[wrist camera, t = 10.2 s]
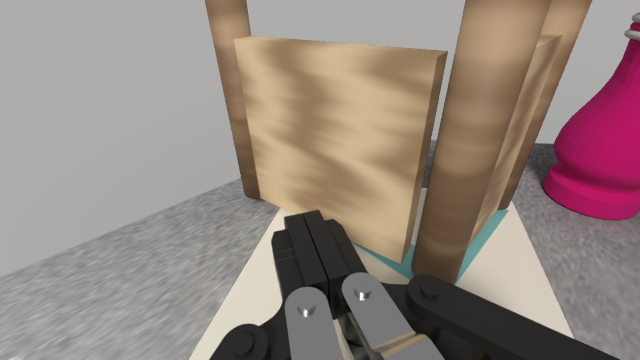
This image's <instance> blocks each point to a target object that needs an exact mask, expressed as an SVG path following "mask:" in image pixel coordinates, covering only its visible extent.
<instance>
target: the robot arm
mask: <svg viewBox="0 0 640 360" xmlns="http://www.w3.org/2000/svg"><path fill="white" fill-rule="evenodd" d="M284 225H285V229H284V230H280V231H275V232H274V233H273V236H272V240H271V246H272V252H273V258H274V264H275V269H276V274H277V278H278V283H279V287H280V292H281V297H282V304H281V307H280V309H279V310H278V312H277V313H276V314H275V315H274V316H273V317H272V318H270V319H269V320H268V321H266V322H264V323H263V324H261V325H260V326H258V325H255V324H249V323H248V324H242V325H239V326H237V327H235V328H233V329H232V330H230V331H229V332H228V333H227V334H226V335H225V337H224V338H223V339H222V341H221V342H220V344H219V345H218V347H217V348H216V350H215V351H214V353H213V354H212V356H211V357H210V359H209V360H344V358H343V355H342V351H341V348H340V344H339V341H338V337H337V333H336V330H335V326H334V322H333V320H336V319H338V322H339V325H340V327H341V338H342V341H343V344H344V346H345V348H346V350H347V353H348V355H349V357H350V359H351V360H620V359H618V358H615V357H613V356H611V355H609V354H606V353H604V352H602V351H600V350H598V349H595V348H593V347H591V346H589V345H586V344H584V343H582V342H580V341H578V340H575V339H573V338H571V337H569V336H566V335H564V334H562V333H560V332H558V331H555V330H553V329H551V328H549V327H546V326H544V325H542V324H540V323H538V322H535V321H533V320H531V319H529V318H526V317H524V316H522V315H520V314H518V313H515V312H513V311H511V310H509V309H506V308H504V307H502V306H500V305H498V304H495V303H493V302H491V301H489V300H486V299H484V298H482V297H480V296H478V295H475V294H473V293H471V292H469V291H466V290H464V289H462V288H460V287H458V286H455V285H453V284H451V283H449V282H446V281H444V280H442V279H440V278H438V277H435V276H433V275H429V274H420V275H416V276H414V277H413V278H411V280H410V281H409V283H408V284H388V283H383V282H380V281H379V280H378V279H377V278H376V277H374V276H373V275H371V274H369V273H368V271H367V270H366V268H365V266H364V264H363V263H362V261H361V259H360V257H359V255H358V254H357V252H356V250H355V248H354V246H353V244H352V243H351V241H350V239H349V237H348V236H347V234H346V232H345V230H344V228H343V226H342V225H341V224H340V223H338V222H337V221H336V220H334V219H329V220H324V218H323V216H322V214H321V212H320V210H313V211H308V212H304V213H302V214H301V213H299V214H295V215H290V216H285V217H284Z"/></svg>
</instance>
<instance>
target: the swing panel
mask: <svg viewBox="0 0 640 360" xmlns="http://www.w3.org/2000/svg"><path fill="white" fill-rule="evenodd" d="M205 3H206V8H207V13H208V18H209V23H210V28H211V32H212V38H213V43H214V47H215V52H216V57H217V62H218V67H219V71H220V76H221V81H222V86H223V91H224V96H225V101H226V105H227V111H228V115H229V120H230V125H231V130H232V135H233V140H234V145H235V149H236V154H237V159H238V164H239V169H240V174H241V179H242V183H243V188H244V193H245V195H246V196H247V197H248V198H252V199H260V198H261V199H263V200H265V201H268V202H270V203H272V204H274V205H276V206H278V207H280V208H282V209H284V210H287V211H289V212H291V213H293V214H299V213H301V214H302V213H304V212H308V211H313V210H320V212H321V214H322V216H323V218H324V220H329V219H334V220H336V221H337V222H338V223H340V224H341V225H342V226H343V228H344V230H345V232H346V234H347V236H348V237H349V239H350V241H352V242H354V243H356V244H358V245H361V246H363V247H365V248H367V249H369V250H371V251H373V252H375V253H378V254H380V255H382V256H384V257H386V258H388V259H390V260H392V261H394V262H397V263H399V264H401V263H402V262H403V260H404V258H405V257H406V255H407V254H408V252H409V251H410V245H411V240H412V235H413V230H414V225H415V219H416V214H417V209H418V204H419V199H420V193H421V188H422V183H423V178H424V173H425V167H426V162H427V157H428V152H429V147H430V141H431V136H432V131H433V126H434V120H435V115H436V110H437V105H438V100H439V94H440V90H441V84H442V79H443V74H444V69H445V63H446V58H447V53H448V51H438V50H426V49H413V48H401V47H388V46H375V45H362V44H349V43H336V42H323V41H311V40H298V39H285V38H273V37H260V36H251V31H250V24H249V17H248V10H247V3H246V0H206V1H205Z"/></svg>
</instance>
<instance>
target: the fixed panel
mask: <svg viewBox="0 0 640 360" xmlns="http://www.w3.org/2000/svg"><path fill="white" fill-rule="evenodd" d="M591 2H592V0H466V1H465V6H464V11H463V16H462V21H461V26H460V31H459V35H458V41H457V45H456V50H455V55H454V60H453V65H452V70H451V74H450V79H449V84H448V89H447V94H446V99H445V104H444V109H443V113H442V118H441V123H440V128H439V133H438V138H437V143H436V147H435V152H434V157H433V162H432V167H431V172H430V177H429V182H428V186H427V191H426V196H425V201H424V206H423V211H422V216H421V221H420V225H419V230H418V235H417V240H416V245H415V250H414V255H413V260H412V265H411V269H412V272H413V274H414V276H416V275H420V274H429V275H433V276H435V277H438V278H440V279H442V280H444V281H446V282H449V283H451V284H453V285H454V283H455V282H456V280H457V277H458V274H459V271H460V268H461V265H462V262H463V259H464V256H465V254H466V251H467V248H468V247H469V245H470V244H471V243H472V241H473V240H474V239H475V238H476V236H477V235H478V234H479V232H480V231H481V230H482V229H483V227H484V226H485V225H486V223H487V222H488V221H489V220H490V218H491V217H492V216H493V214H494V213H495V212H496V211H497V210H504V209H507V208H508V207H509V205H510V202H511V200H512V197H513V195H514V192H515V190H516V188H517V185H518V183H519V180H520V178H521V175H522V173H523V170H524V168H525V165H526V163H527V160H528V158H529V155H530V153H531V150H532V148H533V145H534V143H535V141H536V138H537V136H538V133H539V131H540V128H541V126H542V123H543V121H544V118H545V116H546V113H547V110H548V108H549V106H550V103H551V101H552V99H553V96H554V94H555V91H556V88H557V86H558V84H559V81H560V79H561V76H562V74H563V71H564V68H565V66H566V64H567V61H568V59H569V57H570V54H571V52H572V49H573V47H574V44H575V42H576V39H577V37H578V34H579V32H580V29H581V27H582V24H583V22H584V19H585V17H586V14H587V12H588V10H589V7H590V5H591Z"/></svg>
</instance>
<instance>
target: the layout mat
mask: <svg viewBox="0 0 640 360" xmlns="http://www.w3.org/2000/svg"><path fill="white" fill-rule="evenodd" d="M426 191H427V188H421V193H420V199H419V204H418V209H417V214H416V219H415V225H414V230H413V235H412V240H411V245H410V251H409V252H408V254H407V255H406V257H405V258H404V260H403V262H402V263H401V264H399V263H397V262H394V261H392V260H390V259H388V258H386V257H384V256H382V255H380V254H378V253H375V252H373V251H371V250H369V249H367V248H365V247H363V246H361V245H358V244H356V243H354V242H352V241H351V243H352V244H353V246H354V248H355V250H356V252H357V254H358V255H359V257H360V259H361V261H362V263H363V264H364V266H365V268H366V270H367V271H368V273H369V274H371V275H373V276H374V277H376V278H377V279H378V280H379V281H380V282H383V283H388V284H408V283H409V281H410V280H411V278H413V277H414V274H413V272H412V269H411V265H412V260H413V255H414V250H415V245H416V240H417V235H418V230H419V225H420V221H421V216H422V211H423V206H424V201H425V196H426ZM290 215H295V214H293V213H291V212H289V211H287V210H284V209H282V208H280V209H279V211H278V213H277V214H276V216H275V218H274V219H273V221H272V223H271V224H270V226H269V228H268V229H267V231H266V233H265V234H264V236H263V238H262V239H261V241H260V242H259V244H258V246H257V247H256V249H255V251H254V252H253V254H252V256H251V257H250V259H249V261H248V262H247V264H246V266H245V267H244V269H243V271H242V272H241V274H240V276H239V277H238V279H237V281H236V282H235V284H234V286H233V287H232V289H231V291H230V292H229V294H228V296H227V297H226V299H225V300H224V302H223V304H222V305H221V307H220V309H219V310H218V312H217V314H216V315H215V317H214V319H213V320H212V322H211V324H210V325H209V327H208V329H207V330H206V332H205V334H204V335H203V337H202V339H201V340H200V342H199V344H198V345H197V347H196V349H195V350H194V352H193V354H192V355H191V357H190V359H189V360H209V359H210V357H211V356H212V354H213V353H214V351H215V350H216V348H217V347H218V345H219V344H220V342H221V341H222V339H223V338H224V337H225V335H226V334H227V333H228V332H229V331H230V330H232V329H233V328H235V327H237V326H239V325H242V324H248V323H249V324H255V325H258V326H260V325H261V324H263V323H264V322H266V321H268V320H269V319H270V318H272V317H273V316H274V315H275V314H276V313H277V312H278V310H279V309H280V307H281V304H282V297H281V292H280V287H279V283H278V278H277V274H276V269H275V264H274V258H273V252H272V246H271V240H272V236H273V233H274V232H275V231H280V230H284V229H285V225H284V217H285V216H290ZM454 285H455V286H458V287H460V288H462V289H464V290H466V291H469V292H471V293H473V294H475V295H478V296H480V297H482V298H484V299H486V300H489V301H491V302H493V303H495V304H498V305H500V306H502V307H504V308H506V309H509V310H511V311H513V312H515V313H518V314H520V315H522V316H524V317H526V318H529V319H531V320H533V321H535V322H538V323H540V324H542V325H544V326H546V327H549V328H551V329H553V330H555V331H558V332H560V333H562V334H564V335H566V336H569V337H571V338H573V339H574V337H573V335H572V333H571V330H570V328H569V326H568V324H567V321H566V319H565V317H564V315H563V313H562V310H561V308H560V306H559V304H558V302H557V299H556V297H555V295H554V293H553V290H552V288H551V286H550V284H549V282H548V279H547V277H546V275H545V273H544V271H543V268H542V266H541V264H540V262H539V259H538V257H537V255H536V253H535V251H534V248H533V246H532V244H531V242H530V240H529V237H528V235H527V233H526V231H525V228H524V226H523V224H522V222H521V220H520V217H519V215H518V213H517V211H516V209H515V206H514V204H513V202H512V200H511V202H510V205H509V207H508V208H507V209H504V210H497V211H496V212H495V213H494V214H493V216H492V217H491V218H490V220H489V221H488V222H487V223H486V225H485V226H484V227H483V229H482V230H481V231H480V232H479V234H478V235H477V236H476V238H475V239H474V240H473V241H472V243H471V244H470V245H469V247H468V248H467V251H466V254H465V256H464V259H463V262H462V265H461V268H460V271H459V274H458V277H457V280H456V282H455V283H454ZM333 322H334V326H335V330H336V333H337V337H338V341H339V344H340V348H341V351H342V355H343V358H344V360H351V359H350V357H349V355H348V353H347V350H346V348H345V346H344V344H343V341H342V338H341V327H340V325H339V322H338V319H336V320H333Z"/></svg>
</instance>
